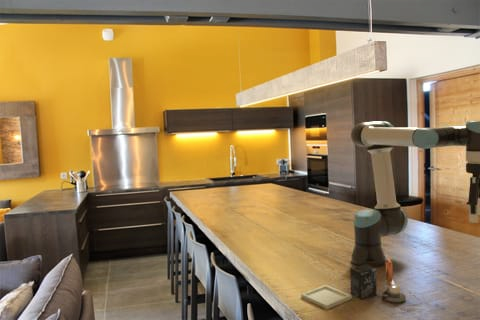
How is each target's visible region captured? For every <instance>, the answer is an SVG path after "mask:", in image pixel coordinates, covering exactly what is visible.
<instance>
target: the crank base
mask: <svg viewBox="0 0 480 320" xmlns="http://www.w3.org/2000/svg"><path fill="white" fill-rule="evenodd" d="M406 298H407V297H406V295H405V294H404V293H402V292H400V296H399V297H390V296H388V295H387V290H386V291H384V292H382V294H381V299H382V300H383V301H384V300H385V301H384V302H386V301H387V303H389V302H390V304H404V303H405V302H406V300H407V299H406Z"/></svg>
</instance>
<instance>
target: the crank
mask: <svg viewBox="0 0 480 320" xmlns="http://www.w3.org/2000/svg"><path fill="white" fill-rule="evenodd" d="M385 283H386V291H387V295H388V296H390V297H399V296H400V293H401V286H400V285H398V284H396V283H395V281H394V277H393V261H391V259H390V258H389V257H388V258H386V264H385Z"/></svg>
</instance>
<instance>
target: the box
mask: <svg viewBox="0 0 480 320" xmlns="http://www.w3.org/2000/svg"><path fill="white" fill-rule="evenodd" d="M349 270H350V271H349V272H350V276H349V277H350V278H349V279H350V295H352V297H354V298H356V299H358V300H365V299H366V298H371V297H375V296H377V294H378V293H377V267H372V266H369V265H367V264H365V265H361V266H358V265H356V266H353V267H350V269H349Z"/></svg>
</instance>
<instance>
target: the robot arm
mask: <svg viewBox="0 0 480 320" xmlns="http://www.w3.org/2000/svg"><path fill="white" fill-rule="evenodd" d="M350 139H351V141H352V143H353V144H355V146H358V147H360V148H366V151H367V152H368V153H370V155H371V162H372V171H373V181H374V187H375V193H376V202H377V203H376V205H375V206H374V209H362V210H360V211H358V212H356V213H355V214H354V219H353V227H354V230H353V231H354V248H353V251H352V254H351V258H350V259H351V263H352V264H354V265H356V266H361V265H365V264H367V265H369V266H372V267H374V268H377V267H379V268H380V267H383V266H384V265H385V266H386V261H387V258H386V255H385V253H384V249H383V247H382V246H383V245H382V238H383V237H389V236H394V235H398V234H400V233H403V232H404V231H405V229H406V228H407V226H408V220H409V219H408V215H407V213H405V211H404V209H401V204H400V203H398V202H397V197H396V196H397V195H396V189H395V188H396V187H395V181H394V174H393V164H392V157H391V151H392V150H393V149H394V147H393V146H398V147H411V148H412V147H413V148H415V147H416V148H419V149H433V148H442V147H454V146H456V147H462V146H463V147H465V161H466V163H465V172H466V173H467V174H472V176H470V177H469V189H468V190H469V192H468V201H467V202H466V205H467V206H468V207H469V209H468V222H469V223H473V224H478V223H479V216H480V120H469V121H468V120H467V121H466V123H465V125H464V126H461V125H460V126H459V125H457V126H453V125H452V126H450V125H445V126H440V127H395V126H394V125H393V124H391V123H390V122H388V121H381V120H379V121H363V122H358V123H357V124H356V125H354V126H353V127H352V129H351V132H350Z"/></svg>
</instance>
